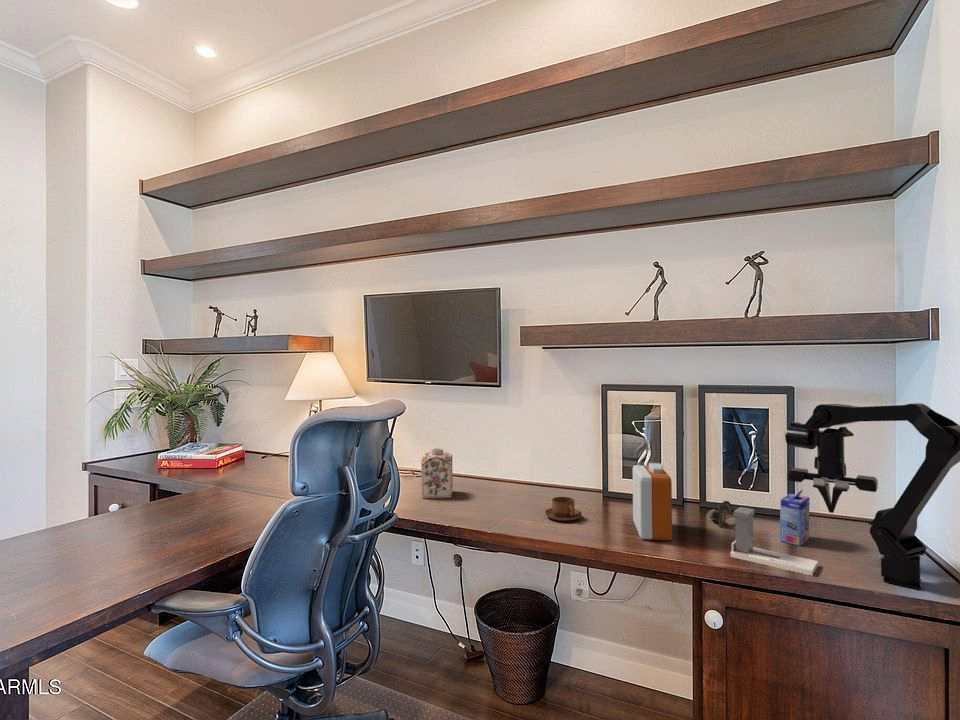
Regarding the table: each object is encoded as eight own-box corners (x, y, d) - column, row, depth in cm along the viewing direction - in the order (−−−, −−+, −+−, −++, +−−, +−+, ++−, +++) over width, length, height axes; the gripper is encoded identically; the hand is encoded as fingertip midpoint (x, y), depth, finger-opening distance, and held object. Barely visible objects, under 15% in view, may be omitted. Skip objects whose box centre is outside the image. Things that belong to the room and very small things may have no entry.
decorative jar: (453, 491, 201) (452, 446, 201) (451, 498, 189) (451, 451, 189) (423, 491, 201) (423, 446, 201) (420, 498, 189) (420, 451, 189)
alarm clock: (672, 542, 141) (672, 470, 141) (640, 540, 142) (639, 469, 142) (661, 522, 159) (660, 458, 159) (632, 521, 160) (632, 457, 161)
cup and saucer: (589, 519, 163) (589, 500, 164) (565, 526, 156) (564, 506, 156) (561, 510, 173) (561, 493, 173) (537, 517, 165) (537, 499, 165)
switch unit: (817, 565, 123) (817, 553, 124) (812, 575, 118) (811, 562, 118) (739, 548, 136) (739, 536, 136) (730, 556, 130) (730, 544, 130)
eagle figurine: (741, 526, 151) (738, 512, 160) (726, 505, 152) (723, 492, 161) (716, 536, 154) (714, 522, 163) (702, 516, 155) (700, 503, 164)
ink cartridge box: (802, 547, 137) (801, 494, 137) (779, 542, 141) (778, 491, 141) (810, 538, 144) (809, 488, 144) (788, 533, 148) (788, 485, 148)
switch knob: (754, 547, 132) (754, 509, 132) (749, 553, 128) (748, 514, 128) (740, 544, 134) (739, 507, 135) (734, 550, 130) (733, 511, 130)
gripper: (878, 452, 128) (879, 512, 128) (794, 444, 141) (795, 499, 140) (875, 458, 120) (876, 522, 120) (786, 449, 132) (787, 508, 132)
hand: (831, 512), depth 128 cm, fingers closed
